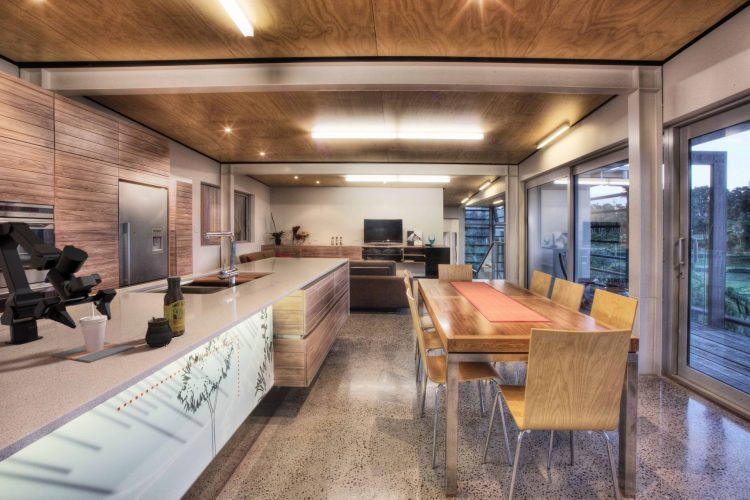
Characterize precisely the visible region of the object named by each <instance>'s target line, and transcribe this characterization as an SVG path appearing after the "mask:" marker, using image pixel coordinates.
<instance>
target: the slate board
mask: <svg viewBox="0 0 750 500" xmlns="http://www.w3.org/2000/svg"><path fill="white" fill-rule="evenodd" d="M135 348H136V347H135V346H134V345H127V344H126V345H125V344H121V343H120V344H119V343H114V342H106V341H104V345H103V349H102V350H100V351H96V352H87V350H86V345H85V344H84V345H81V346H77V347H73V348H70V349H66V350H63V351H59V352H56V353H53V354H51V356H52V357H57V358H63V359H69V360H73V361H78V362H79V361H80V362H84V363H90V364H91V363H93V362H94V363H95V362H97V361H99V360H101V359H105V358H109V357H111V356H115V355H118V354H120V353H122V352H126V351H129V350H132V349H135Z"/></svg>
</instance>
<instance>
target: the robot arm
mask: <svg viewBox="0 0 750 500" xmlns="http://www.w3.org/2000/svg"><path fill="white" fill-rule="evenodd" d="M19 246H20V247H21V248H22V249H23V250H24V251H26V253H28V255H29V260H28V261H29V263H30V264H31V267H33V268H34V269H35V270H36V271H38V272H43V271H44V272H45V271H47V273H46V276H45V278H44V280H43V281H44V284H51V286H52V287H53V288H54V290H55V292H54V296H51V297H45V298H44V297H43V295H42V293H41V291H35V290H33V289H31V286H30V285H31V284H30V282H29V280H28V277H27V274H26V270H25V268H24V265H23V263H22V259H21V255H20V253H19V250H18V247H19ZM62 249H63V250H61V249H60V248H58V247H56V246H52V245H49V244H48V243H46V241H44V240H43V238H41V237H40V236H39V235H38V234H37V233H36V232H35V231H34V230H33V229H32V228H30V225H29V223H27V222H24V221H7V222H2V223H0V270H1V272H2V273H1V274H2V275H3V278H4V282H5V285H6V288H7V291H8V294H9V296H8V297H7V299H6V300H5V303H4V306H5V309H4V310H3V312H2V314H1V316H0V324H1V325H2V326H8V327H9V336H10V338H9V339H8V340H5V341H4V344H15V345H21V344H25V343H28V342H33V341H36V340H40V339H44V336H43V335H39V330H38V322H37V321H40V320H50V321H53V322H57V323H59V324H62V325H63V326H66V327H68V328H71V329H72V330H73V329H76V328H77V324H76V322H75V321H74V319H73V318H72V316H71V315H70V313H69V312H68V311H67V308H68V307H73V306H76V307H77V306H80V305H81V306H82V305H85V304H86V305H87V304H91V303H93V306H96V307H95V309H96V310H97V311H98V312H99V314H100V315H106V316H107V320H106V321H110V320H111V319H112V313H111V307H110V306H111V303H112V302H113V300H114V299H115V297H116V296H117V294H118V292H117V291H116V290H115V289H114V288H113V287H109V288H108V287H107V288H102V289H98V291H97V292H96V293H95V294H94V295H93V294H92V295H89V294H91V293H92V292H93V288H95V287H97V286H98V285H99V284H100V285H101V284H102V283H103V279H102V276H100V274H99V273H97V272H96V273H91V274H89V275H82V276H76V275H75V274H77V273H78V272H80V270H81V269H82V268H83V266H84V264H85V263H86V262H87V260H88V259H89V254H88V253H87V251H85V250H83V249H81V248H79V247H75V246H74V245H73V244H69V245H64V247H63V248H62Z"/></svg>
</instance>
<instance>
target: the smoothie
mask: <svg viewBox="0 0 750 500" xmlns="http://www.w3.org/2000/svg"><path fill="white" fill-rule="evenodd" d="M94 311H95V310H94V304H93V302H92V303H90V313H91V315H90V316H89V315H88V316H84V317H82V318H79V320H78V322H79V323H78V324H80V327H81V332H82V335H83V340H84V345H86V350H87V352H96V351H100V350H102V349H103V345H104V342H105V334H106V326H107V325H106V324H107V321H108V320H107V316H106V315H102V314H100V315H99V314H98V315H97V314H96V315H95V312H94Z"/></svg>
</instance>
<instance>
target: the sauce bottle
mask: <svg viewBox="0 0 750 500" xmlns="http://www.w3.org/2000/svg"><path fill="white" fill-rule="evenodd" d="M181 280H182V277H181V276H179V275H178V276H177V275H176V276H175V275H174V276H167V277H166V281H167V291H166V293H165V294H164V295H163V296H164V297H163V318H168V319H169V324H170V326H171V328H172V331H173V337H179V336H181V335H184V334H185V332H186V331H185V330H186V305H185V303H186V300H185V297H184V294H183V292H182V290H181V289H182V288H181Z"/></svg>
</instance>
